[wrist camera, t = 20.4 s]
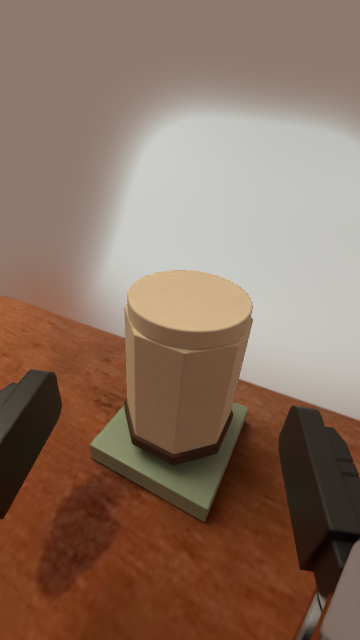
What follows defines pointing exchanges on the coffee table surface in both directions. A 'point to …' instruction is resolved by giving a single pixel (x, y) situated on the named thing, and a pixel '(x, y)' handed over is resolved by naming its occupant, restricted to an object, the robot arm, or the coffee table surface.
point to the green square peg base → (168, 465)
